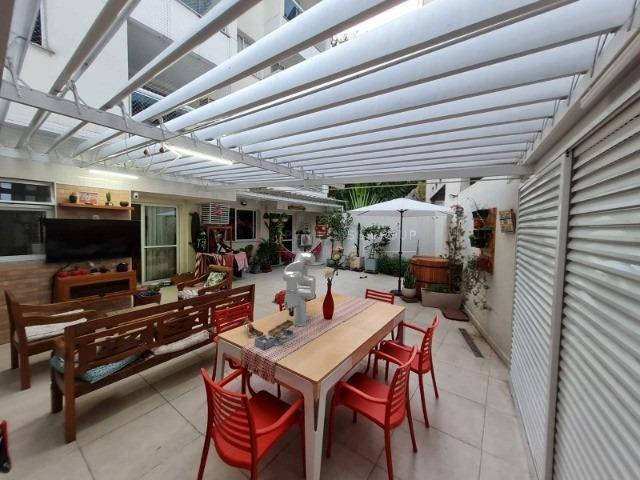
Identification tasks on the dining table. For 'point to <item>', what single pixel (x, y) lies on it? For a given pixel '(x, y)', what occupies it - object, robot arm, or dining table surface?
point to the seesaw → (280, 329)
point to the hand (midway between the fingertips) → (291, 315)
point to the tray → (262, 344)
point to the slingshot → (252, 328)
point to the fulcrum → (286, 333)
